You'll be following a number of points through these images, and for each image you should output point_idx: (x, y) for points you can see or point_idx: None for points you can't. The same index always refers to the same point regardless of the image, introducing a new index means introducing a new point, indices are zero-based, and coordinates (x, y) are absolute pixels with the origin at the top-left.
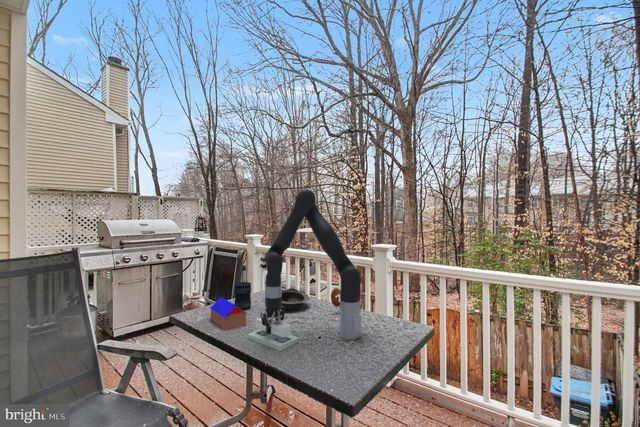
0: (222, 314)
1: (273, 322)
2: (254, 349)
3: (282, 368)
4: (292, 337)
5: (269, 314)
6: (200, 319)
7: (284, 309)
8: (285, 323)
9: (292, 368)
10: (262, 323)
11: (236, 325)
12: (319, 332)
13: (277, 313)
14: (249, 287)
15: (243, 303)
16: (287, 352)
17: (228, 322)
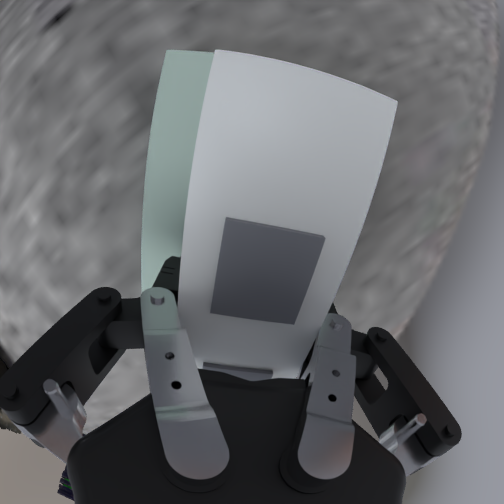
0: None
1: (257, 334)
2: (402, 262)
3: (490, 46)
4: (192, 93)
5: (375, 440)
6: None
7: (19, 380)
8: (202, 172)
9: (471, 6)
10: (374, 378)
11: None
12: (9, 72)
13: (210, 414)
14: (68, 489)
15: None
16: (372, 53)
17: None
